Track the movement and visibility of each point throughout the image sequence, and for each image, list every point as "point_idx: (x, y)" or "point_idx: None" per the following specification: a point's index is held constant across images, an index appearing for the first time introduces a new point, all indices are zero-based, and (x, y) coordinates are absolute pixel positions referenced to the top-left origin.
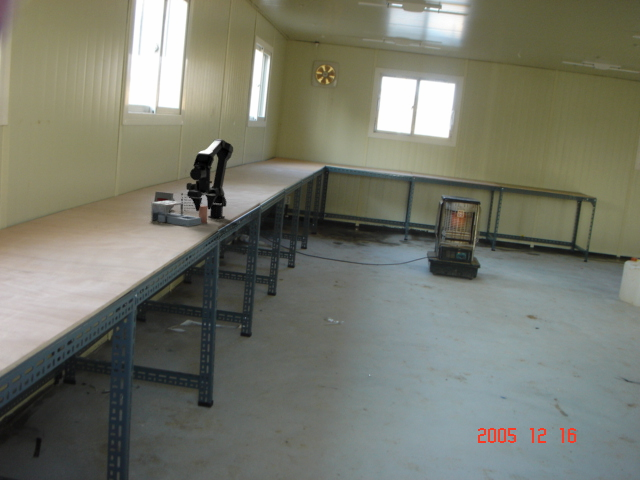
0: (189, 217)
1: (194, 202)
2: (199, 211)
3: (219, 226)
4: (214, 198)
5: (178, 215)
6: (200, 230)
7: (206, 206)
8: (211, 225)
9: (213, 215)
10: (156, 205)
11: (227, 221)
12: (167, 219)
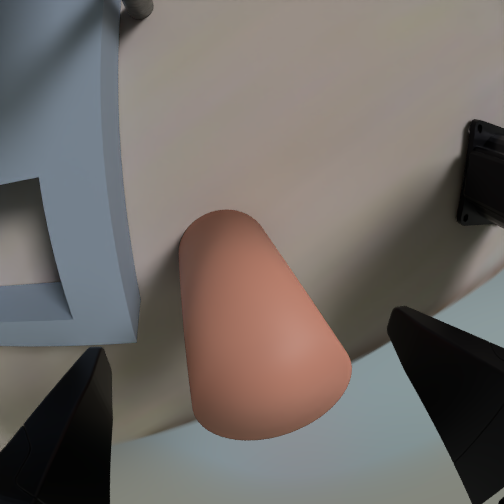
0: (49, 215)
1: (8, 472)
2: (188, 319)
3: (188, 420)
4: (467, 477)
5: (1, 56)
6: (3, 417)
7: (299, 420)
8: (166, 383)
9: (473, 190)
10: None
11: None
12: None
